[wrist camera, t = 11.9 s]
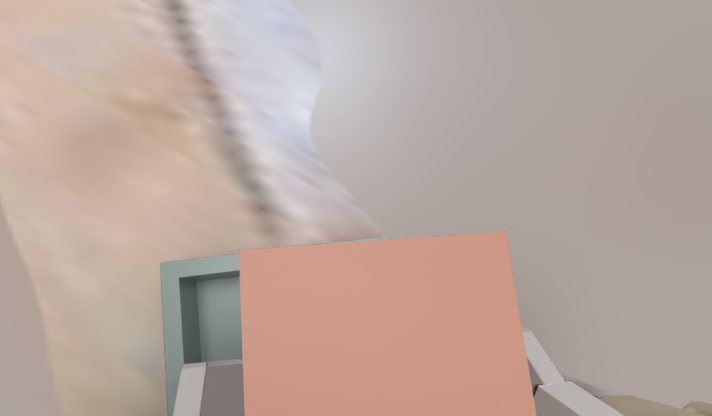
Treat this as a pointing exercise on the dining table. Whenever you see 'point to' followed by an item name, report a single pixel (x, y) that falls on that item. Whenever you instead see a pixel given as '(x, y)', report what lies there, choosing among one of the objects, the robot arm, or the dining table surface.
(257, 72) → the dining table surface
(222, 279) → the tray
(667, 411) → the character mug
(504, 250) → the salmon pink two-tone box
